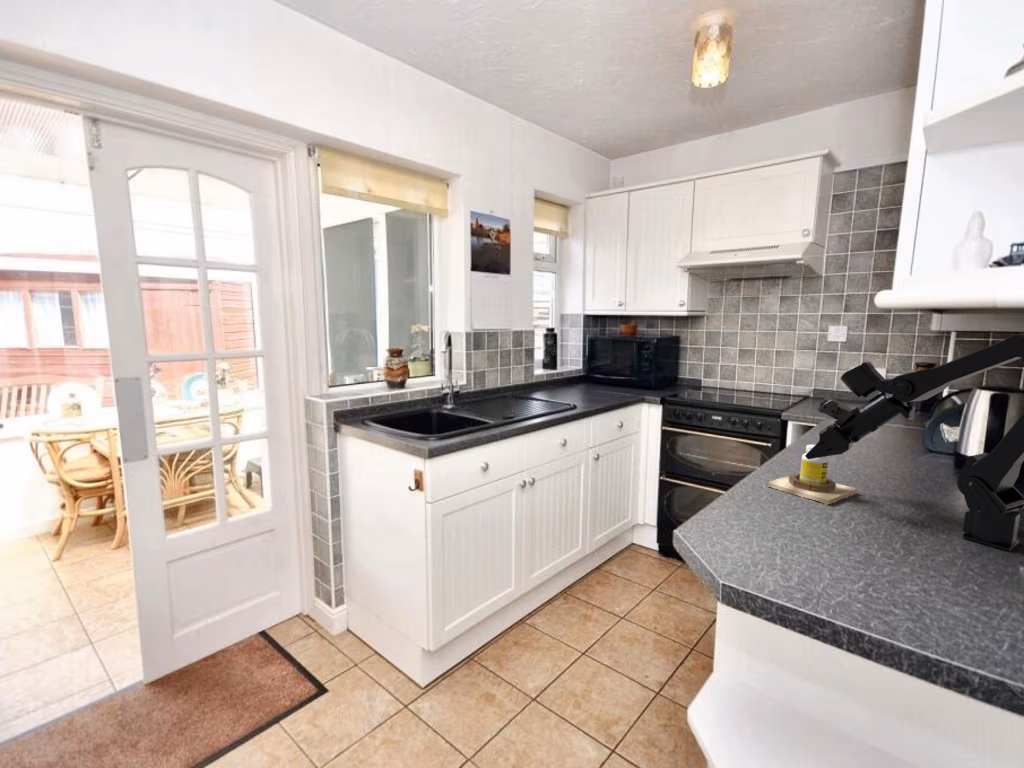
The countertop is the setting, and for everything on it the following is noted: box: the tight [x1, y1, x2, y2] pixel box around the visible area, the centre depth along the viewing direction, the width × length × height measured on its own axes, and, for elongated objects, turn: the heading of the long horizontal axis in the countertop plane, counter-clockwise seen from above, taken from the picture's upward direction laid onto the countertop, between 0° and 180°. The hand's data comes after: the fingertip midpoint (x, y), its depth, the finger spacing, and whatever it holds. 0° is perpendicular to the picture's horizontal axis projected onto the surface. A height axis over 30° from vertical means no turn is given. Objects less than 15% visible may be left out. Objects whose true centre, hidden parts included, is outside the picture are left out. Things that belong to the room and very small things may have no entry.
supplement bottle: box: [799, 444, 829, 485], centre depth 117 cm, size 5×5×10 cm
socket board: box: [766, 472, 858, 505], centre depth 118 cm, size 14×14×3 cm
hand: (811, 453), depth 117 cm, fingers open, 9 cm apart
